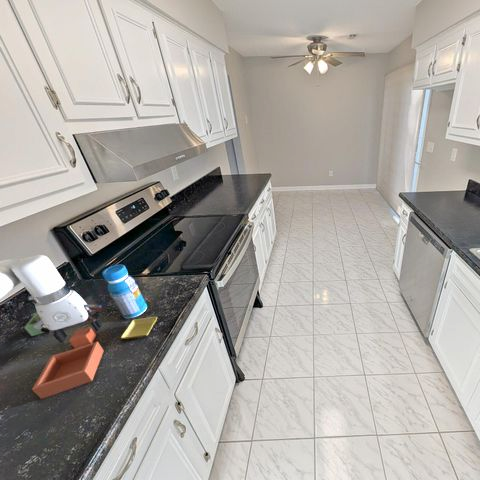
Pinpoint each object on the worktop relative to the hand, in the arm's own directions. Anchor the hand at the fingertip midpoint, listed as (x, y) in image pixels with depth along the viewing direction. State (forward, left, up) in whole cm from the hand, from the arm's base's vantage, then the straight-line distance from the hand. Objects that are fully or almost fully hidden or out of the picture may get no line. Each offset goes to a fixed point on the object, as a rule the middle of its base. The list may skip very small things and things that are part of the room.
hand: (81, 333), depth 85 cm
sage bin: (-14, +19, -4) cm, 24 cm away
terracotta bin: (+1, -13, -4) cm, 14 cm away
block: (0, 0, -4) cm, 4 cm away
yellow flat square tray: (+17, -3, -4) cm, 17 cm away
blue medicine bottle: (+13, +10, -4) cm, 17 cm away
